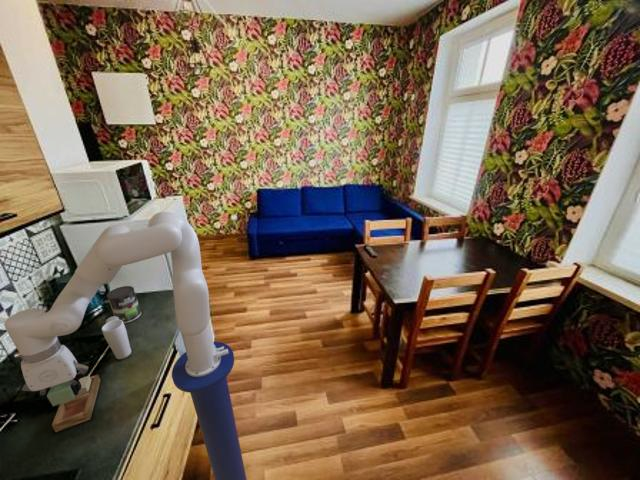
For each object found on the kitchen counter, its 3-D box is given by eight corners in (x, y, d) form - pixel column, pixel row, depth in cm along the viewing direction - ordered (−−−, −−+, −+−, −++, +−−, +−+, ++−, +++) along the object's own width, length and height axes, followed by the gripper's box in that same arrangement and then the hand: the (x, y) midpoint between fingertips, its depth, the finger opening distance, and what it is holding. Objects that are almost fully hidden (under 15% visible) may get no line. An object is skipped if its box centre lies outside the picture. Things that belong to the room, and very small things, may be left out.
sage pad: (78, 386, 84) (73, 375, 83) (74, 399, 80) (69, 388, 78) (58, 392, 82) (52, 382, 80) (52, 406, 78) (46, 396, 76)
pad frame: (100, 380, 96) (97, 374, 94) (90, 419, 83) (86, 412, 82) (71, 390, 92) (67, 384, 91) (55, 432, 79) (51, 425, 78)
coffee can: (145, 314, 130) (138, 289, 124) (122, 326, 122) (113, 301, 116) (135, 307, 135) (127, 283, 129) (112, 318, 126) (102, 293, 121)
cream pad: (93, 384, 93) (89, 375, 92) (90, 396, 89) (85, 387, 88) (75, 390, 91) (70, 381, 90) (71, 403, 87) (66, 393, 85)
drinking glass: (115, 351, 108) (103, 322, 102) (134, 346, 111) (124, 317, 105) (112, 364, 102) (99, 333, 96) (133, 357, 105) (121, 327, 99)
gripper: (-9, 372, 67) (22, 419, 74) (77, 348, 75) (98, 393, 82) (6, 351, 73) (33, 397, 80) (84, 331, 81) (103, 375, 88)
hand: (65, 394), depth 81 cm, fingers closed on sage pad, 5 cm apart
